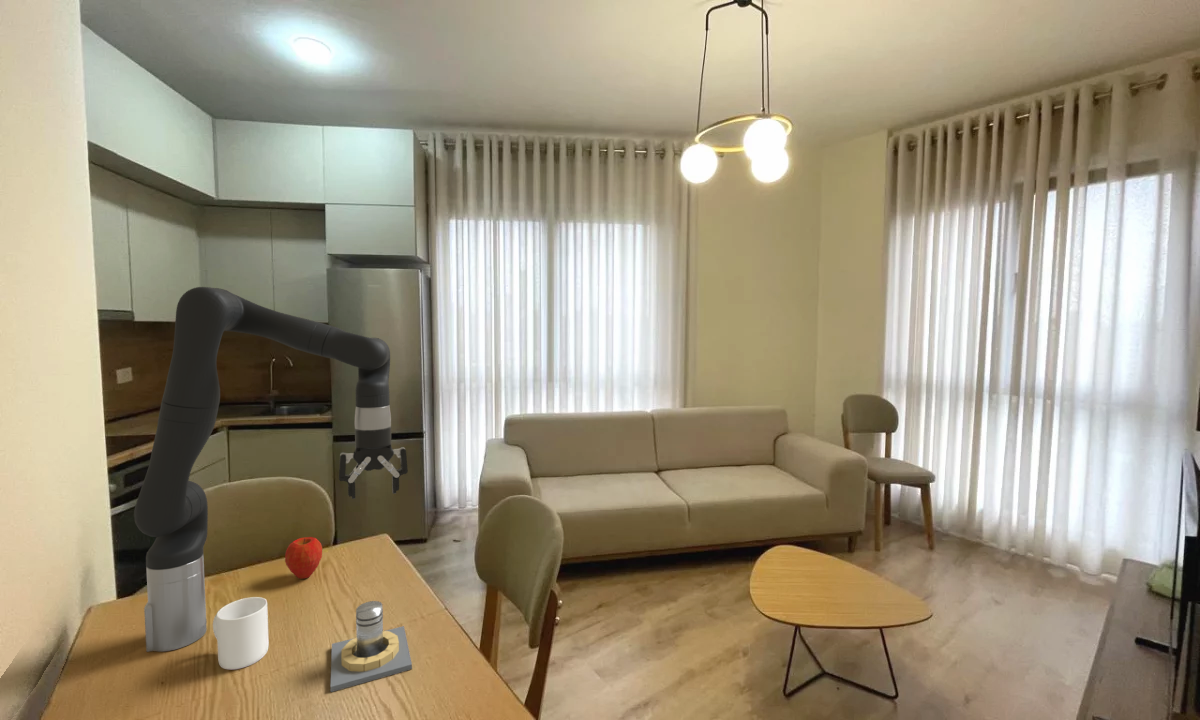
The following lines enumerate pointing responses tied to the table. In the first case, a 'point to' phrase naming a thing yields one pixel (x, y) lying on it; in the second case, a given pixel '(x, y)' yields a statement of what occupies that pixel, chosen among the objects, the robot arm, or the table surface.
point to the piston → (369, 629)
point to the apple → (303, 556)
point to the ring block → (369, 660)
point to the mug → (241, 632)
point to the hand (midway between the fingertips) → (374, 495)
